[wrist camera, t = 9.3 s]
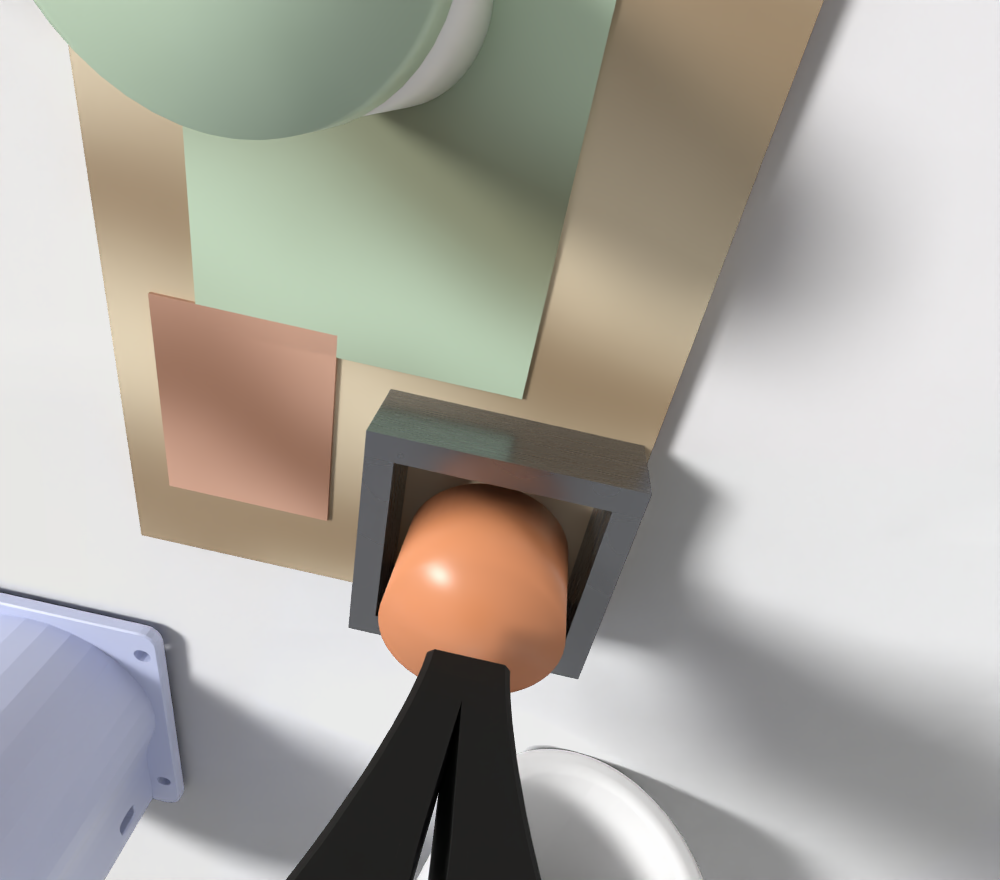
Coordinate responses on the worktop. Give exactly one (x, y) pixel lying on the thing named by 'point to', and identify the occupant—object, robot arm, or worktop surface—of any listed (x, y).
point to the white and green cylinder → (273, 57)
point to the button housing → (510, 464)
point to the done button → (480, 583)
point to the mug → (595, 823)
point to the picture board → (427, 261)
